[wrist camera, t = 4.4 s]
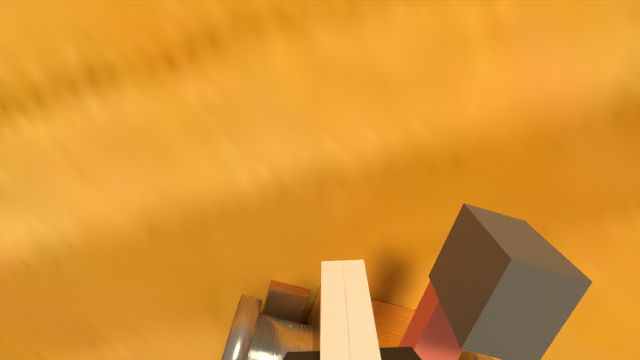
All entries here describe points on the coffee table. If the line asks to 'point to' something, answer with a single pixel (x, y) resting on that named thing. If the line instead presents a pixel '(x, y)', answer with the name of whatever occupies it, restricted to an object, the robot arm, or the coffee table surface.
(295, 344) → the valve pipe
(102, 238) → the coffee table surface
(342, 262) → the robot arm
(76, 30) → the coffee table surface
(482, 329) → the lever
